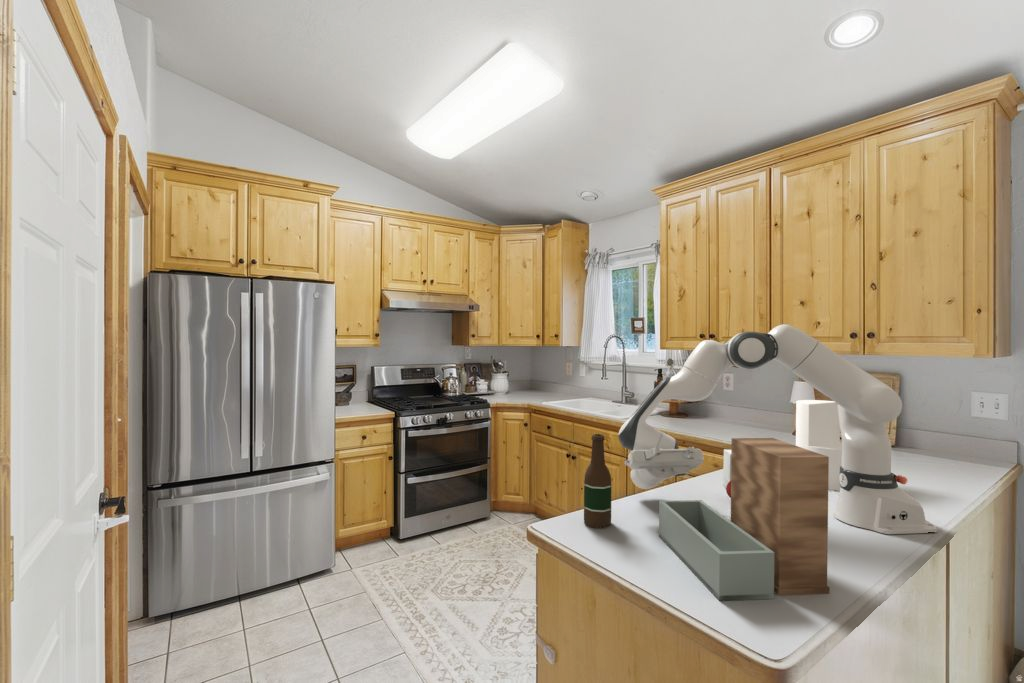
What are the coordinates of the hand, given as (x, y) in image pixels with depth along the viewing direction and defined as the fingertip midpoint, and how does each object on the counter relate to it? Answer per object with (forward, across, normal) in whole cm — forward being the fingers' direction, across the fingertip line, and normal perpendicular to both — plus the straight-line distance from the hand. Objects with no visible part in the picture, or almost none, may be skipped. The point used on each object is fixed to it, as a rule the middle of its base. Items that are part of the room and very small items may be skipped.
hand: (674, 450), depth 127 cm
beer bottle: (-14, -20, +16) cm, 29 cm away
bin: (+7, -1, +28) cm, 29 cm away
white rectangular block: (-42, +69, +1) cm, 81 cm away
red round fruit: (-27, +28, +9) cm, 39 cm away
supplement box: (-37, +35, +3) cm, 51 cm away
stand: (+11, +12, +30) cm, 34 cm away
